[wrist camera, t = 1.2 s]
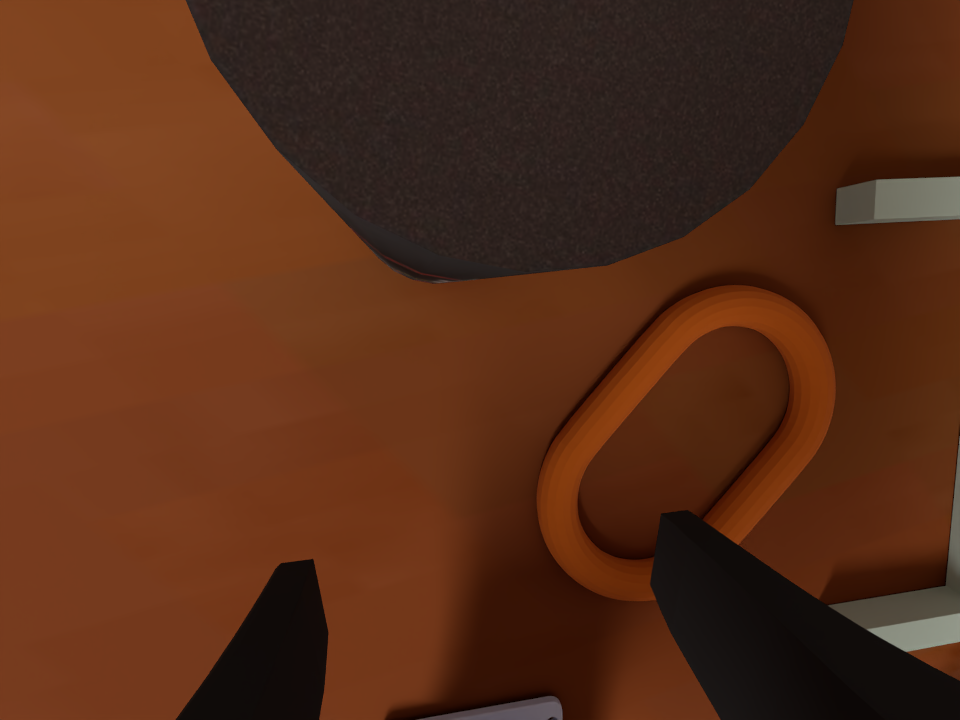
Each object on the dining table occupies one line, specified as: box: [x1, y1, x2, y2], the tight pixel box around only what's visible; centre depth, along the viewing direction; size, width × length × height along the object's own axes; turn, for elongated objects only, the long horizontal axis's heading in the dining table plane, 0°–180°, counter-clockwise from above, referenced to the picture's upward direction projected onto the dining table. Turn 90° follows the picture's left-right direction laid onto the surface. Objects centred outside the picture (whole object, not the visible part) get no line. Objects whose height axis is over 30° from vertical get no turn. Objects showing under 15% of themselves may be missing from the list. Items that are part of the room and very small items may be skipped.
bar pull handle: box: [828, 177, 960, 652], centre depth 22 cm, size 21×9×2 cm, turn 3°
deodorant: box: [186, 0, 853, 284], centre depth 11 cm, size 6×6×15 cm
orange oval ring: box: [537, 285, 836, 601], centre depth 21 cm, size 10×2×15 cm
